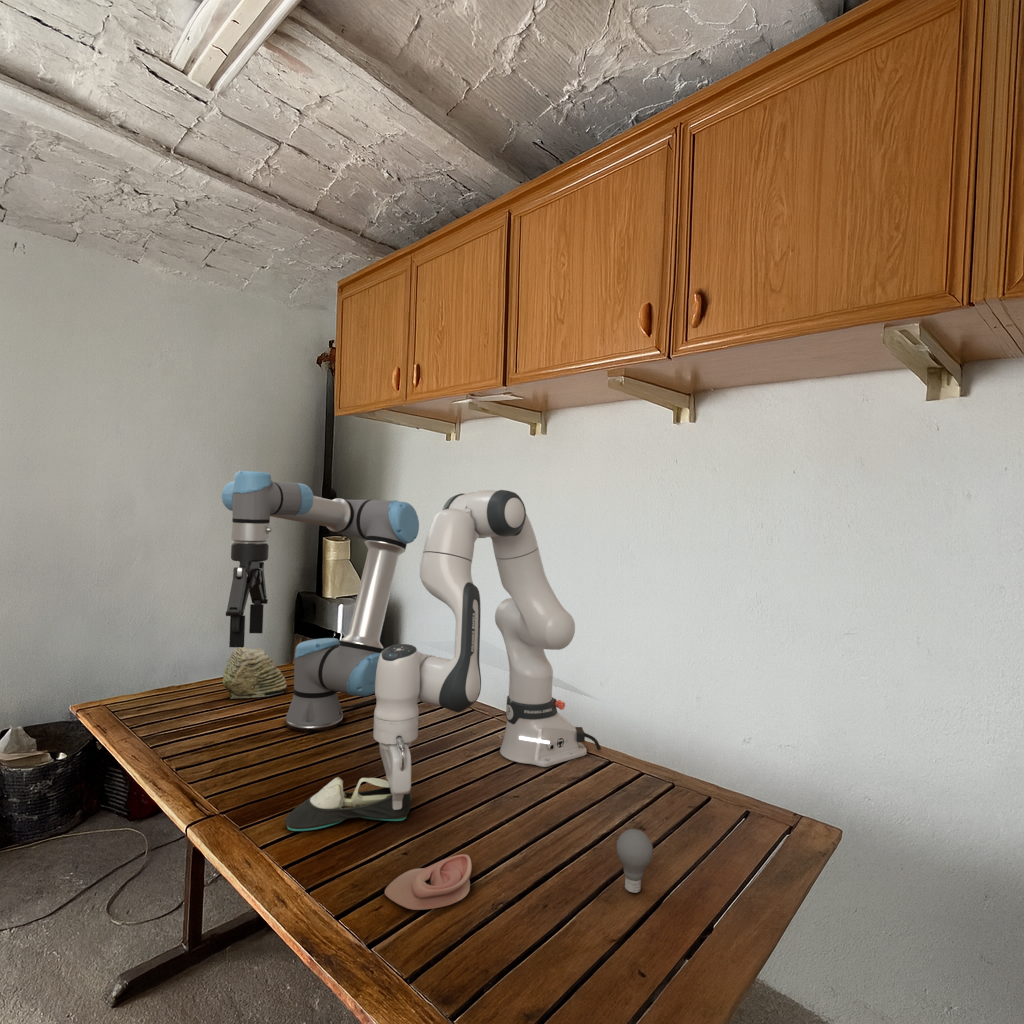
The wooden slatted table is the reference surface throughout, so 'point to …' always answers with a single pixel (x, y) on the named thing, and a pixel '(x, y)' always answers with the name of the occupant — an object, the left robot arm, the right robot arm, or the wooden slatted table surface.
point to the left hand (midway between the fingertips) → (246, 639)
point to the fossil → (252, 674)
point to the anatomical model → (432, 884)
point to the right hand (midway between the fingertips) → (393, 796)
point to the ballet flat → (346, 806)
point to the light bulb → (634, 857)
